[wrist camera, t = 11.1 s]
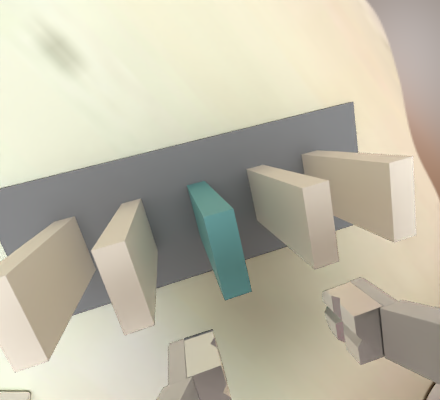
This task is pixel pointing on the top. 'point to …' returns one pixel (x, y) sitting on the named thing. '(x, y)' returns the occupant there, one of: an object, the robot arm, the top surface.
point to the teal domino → (220, 239)
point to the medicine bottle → (14, 396)
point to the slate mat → (175, 192)
